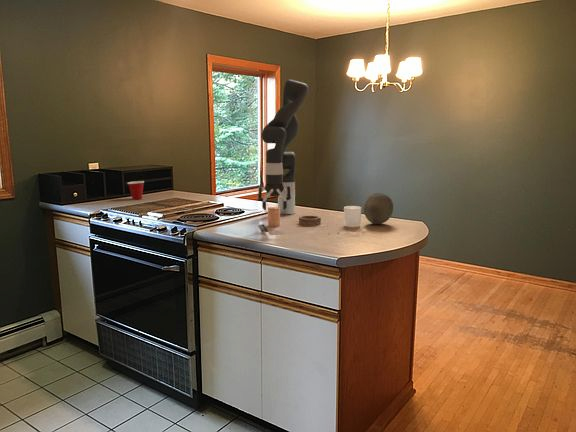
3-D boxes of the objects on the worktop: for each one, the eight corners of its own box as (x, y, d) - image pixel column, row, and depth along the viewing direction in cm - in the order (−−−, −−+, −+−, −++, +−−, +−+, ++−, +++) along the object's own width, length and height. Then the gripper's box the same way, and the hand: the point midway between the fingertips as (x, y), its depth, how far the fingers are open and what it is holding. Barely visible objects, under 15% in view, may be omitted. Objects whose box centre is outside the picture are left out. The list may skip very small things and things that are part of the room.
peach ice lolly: (267, 226, 212) (267, 207, 210) (279, 226, 213) (279, 206, 211) (269, 230, 203) (269, 210, 201) (282, 230, 204) (282, 210, 202)
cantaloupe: (357, 223, 222) (358, 192, 220) (382, 221, 227) (383, 191, 225) (372, 228, 209) (373, 195, 207) (399, 226, 214) (400, 194, 212)
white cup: (359, 227, 213) (359, 205, 211) (362, 230, 205) (363, 208, 204) (342, 227, 213) (342, 205, 211) (344, 230, 205) (345, 208, 203)
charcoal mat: (258, 225, 217) (258, 224, 216) (283, 224, 219) (283, 223, 219) (262, 231, 203) (262, 230, 203) (289, 230, 205) (289, 229, 205)
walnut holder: (292, 224, 219) (292, 215, 219) (320, 223, 222) (320, 214, 221) (297, 230, 206) (297, 220, 205) (328, 229, 208) (328, 219, 207)
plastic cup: (128, 198, 312) (127, 181, 310) (145, 197, 315) (144, 180, 313) (128, 200, 302) (127, 182, 300) (145, 200, 305) (144, 182, 303)
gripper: (288, 172, 206) (288, 207, 209) (257, 172, 204) (257, 208, 207) (291, 173, 199) (291, 210, 202) (259, 174, 197) (259, 211, 200)
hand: (274, 209), depth 205 cm, fingers open, 8 cm apart
